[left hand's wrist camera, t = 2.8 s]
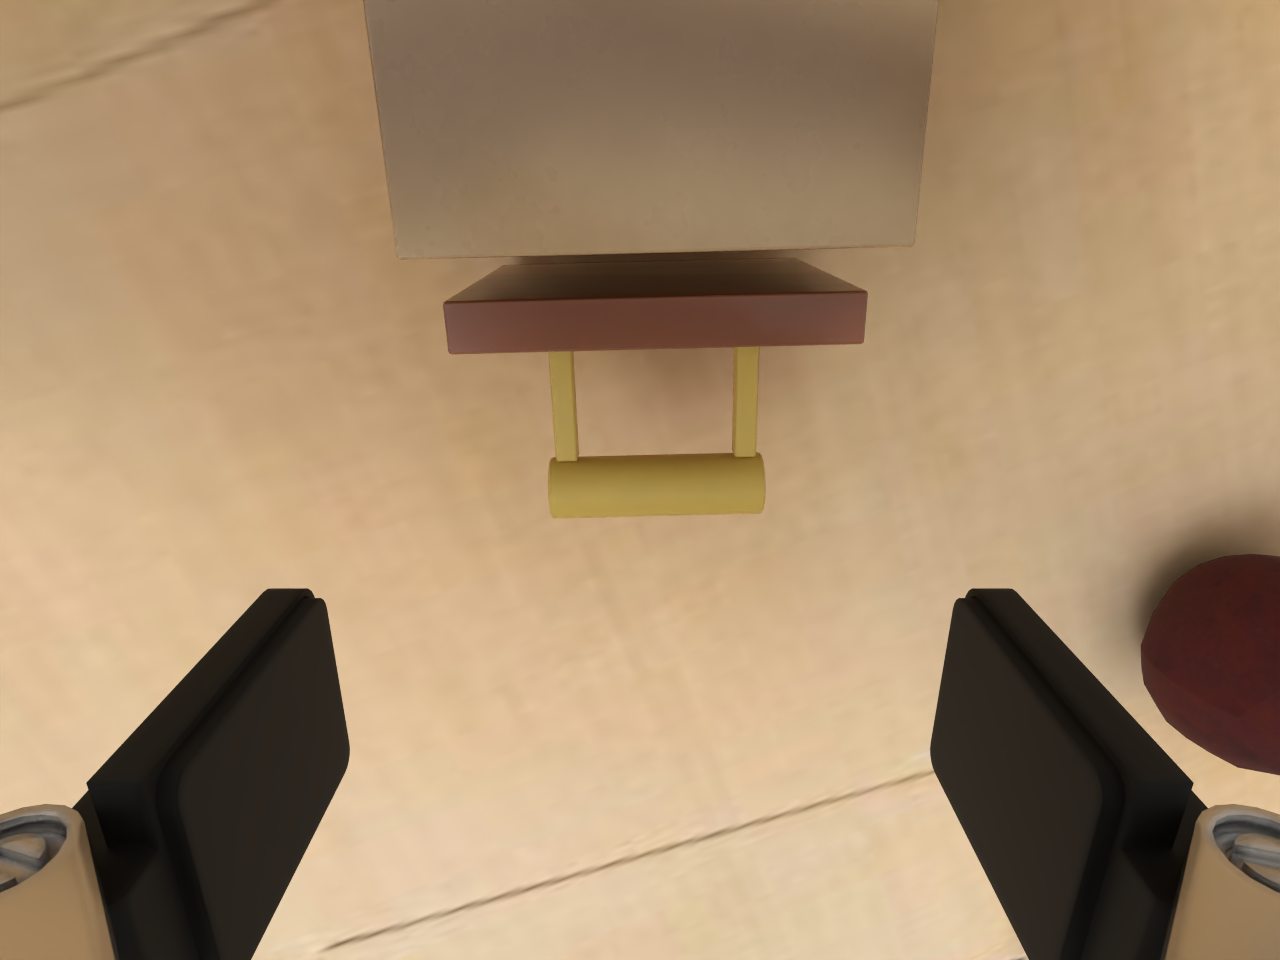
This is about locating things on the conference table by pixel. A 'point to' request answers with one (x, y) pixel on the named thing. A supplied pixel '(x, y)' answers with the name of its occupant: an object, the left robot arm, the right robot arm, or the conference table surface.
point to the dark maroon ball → (1221, 659)
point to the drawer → (655, 319)
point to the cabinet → (650, 124)
